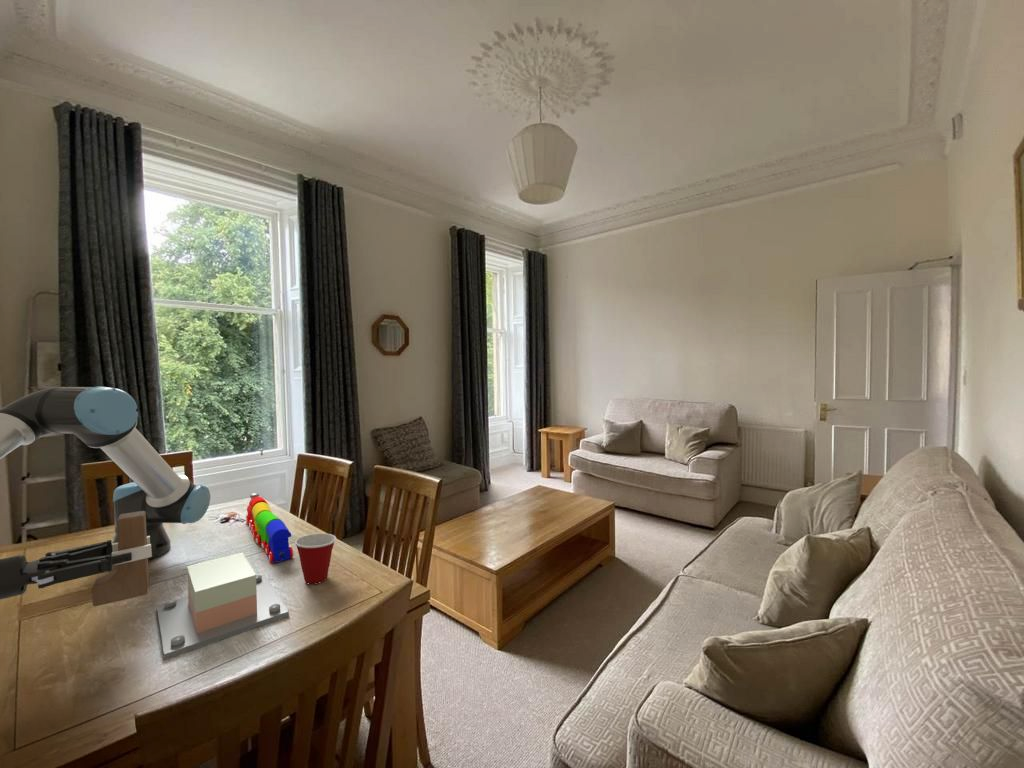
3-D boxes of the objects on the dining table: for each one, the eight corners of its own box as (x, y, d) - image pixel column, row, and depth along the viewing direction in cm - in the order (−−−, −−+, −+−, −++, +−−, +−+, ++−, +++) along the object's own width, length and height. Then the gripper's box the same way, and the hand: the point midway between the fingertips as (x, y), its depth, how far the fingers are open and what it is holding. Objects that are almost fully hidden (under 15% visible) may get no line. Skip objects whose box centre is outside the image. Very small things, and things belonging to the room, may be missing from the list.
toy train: (241, 523, 168) (240, 494, 167) (263, 519, 172) (262, 490, 172) (271, 567, 134) (269, 530, 133) (297, 559, 139) (296, 524, 138)
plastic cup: (345, 575, 129) (344, 534, 128) (314, 593, 119) (313, 549, 118) (318, 567, 133) (317, 528, 132) (286, 583, 123) (285, 541, 123)
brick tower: (157, 609, 110) (155, 567, 110) (264, 578, 126) (263, 541, 126) (164, 659, 92) (162, 609, 92) (288, 616, 108) (287, 573, 108)
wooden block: (92, 607, 94) (87, 524, 93) (96, 598, 97) (92, 518, 96) (147, 594, 99) (143, 515, 98) (149, 586, 103) (145, 509, 101)
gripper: (5, 580, 92) (149, 548, 108) (-14, 620, 79) (153, 577, 94) (2, 545, 92) (148, 518, 107) (-18, 579, 78) (152, 543, 94)
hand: (150, 546), depth 101 cm, fingers closed on wooden block, 5 cm apart
